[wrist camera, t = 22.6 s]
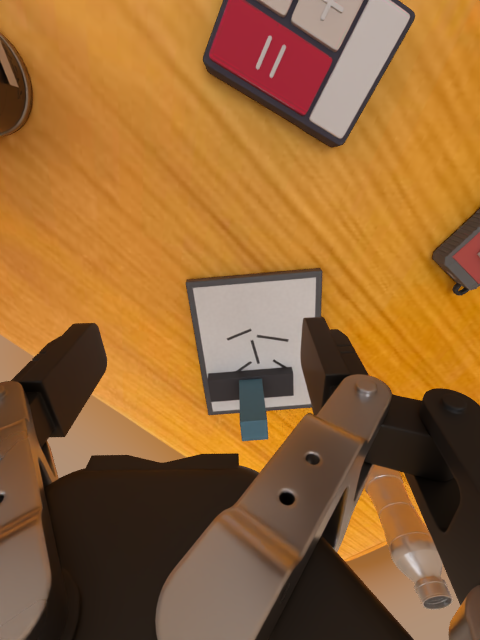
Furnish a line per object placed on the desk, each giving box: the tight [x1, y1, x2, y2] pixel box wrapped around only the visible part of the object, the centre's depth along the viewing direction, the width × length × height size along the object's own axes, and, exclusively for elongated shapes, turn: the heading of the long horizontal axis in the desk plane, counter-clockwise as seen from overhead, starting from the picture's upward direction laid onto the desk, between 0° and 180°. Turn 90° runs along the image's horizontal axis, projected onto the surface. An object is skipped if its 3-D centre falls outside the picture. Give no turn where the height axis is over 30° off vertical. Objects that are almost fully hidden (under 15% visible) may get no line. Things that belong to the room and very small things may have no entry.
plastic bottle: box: [364, 465, 453, 609], centre depth 48 cm, size 6×7×20 cm
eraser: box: [207, 367, 294, 441], centre depth 42 cm, size 12×4×10 cm, turn 95°
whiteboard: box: [186, 268, 322, 415], centre depth 45 cm, size 17×22×1 cm
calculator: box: [203, 0, 415, 147], centre depth 29 cm, size 11×4×15 cm
